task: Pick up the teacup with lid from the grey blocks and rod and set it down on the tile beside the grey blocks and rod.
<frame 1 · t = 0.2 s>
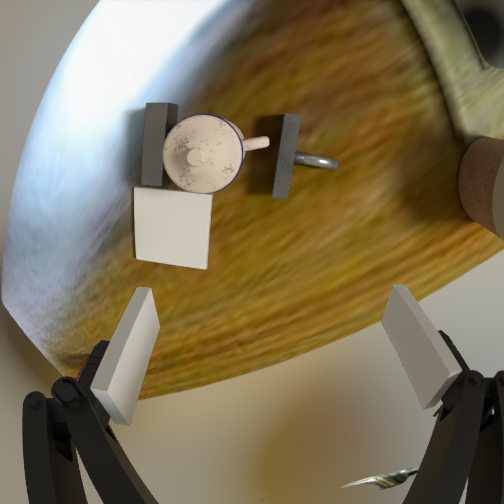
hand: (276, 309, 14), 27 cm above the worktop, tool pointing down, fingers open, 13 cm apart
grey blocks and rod: (224, 146, 36), on the worktop
tile: (171, 227, 42), on the worktop
planter: (484, 179, 35), on the worktop
teacup with lid: (225, 146, 37), on the worktop
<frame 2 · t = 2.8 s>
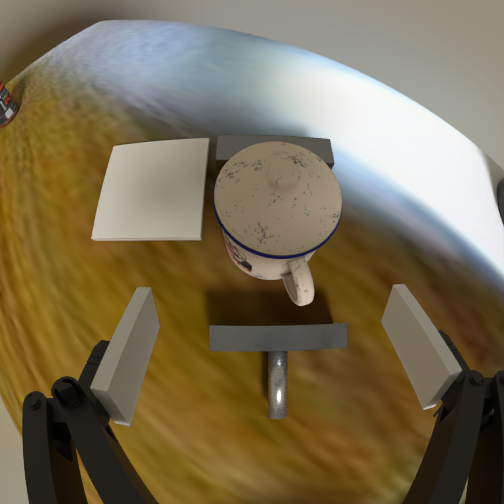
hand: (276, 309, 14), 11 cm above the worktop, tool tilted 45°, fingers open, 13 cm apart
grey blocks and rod: (274, 250, 27), on the worktop
tile: (151, 188, 29), on the worktop
teacup with lid: (274, 251, 27), on the worktop
supplement bottle: (9, 117, 34), on the worktop
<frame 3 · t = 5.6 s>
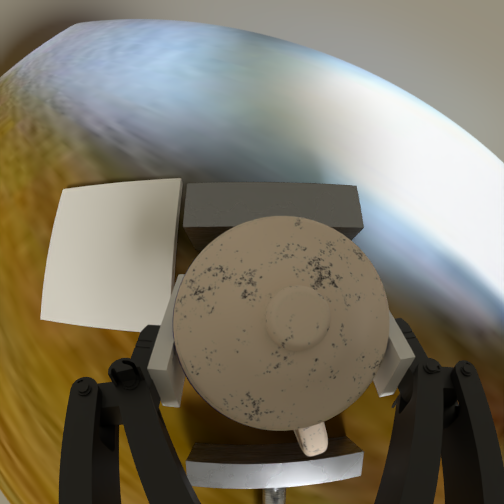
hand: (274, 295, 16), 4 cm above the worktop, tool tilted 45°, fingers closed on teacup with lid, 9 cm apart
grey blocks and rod: (272, 349, 19), on the worktop
tile: (106, 252, 20), on the worktop
teacup with lid: (274, 348, 19), on the worktop, touching gripper
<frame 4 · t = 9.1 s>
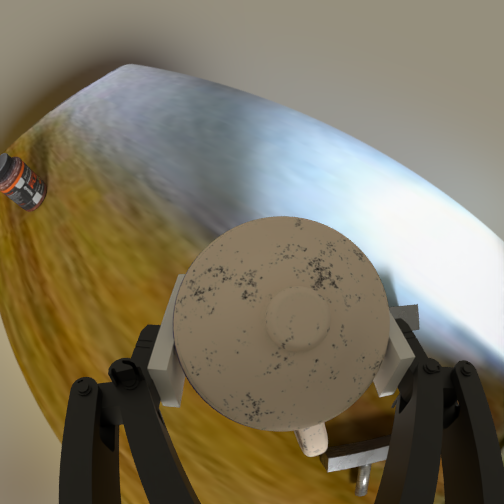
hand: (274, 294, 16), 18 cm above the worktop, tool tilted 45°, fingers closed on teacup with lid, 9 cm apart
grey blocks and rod: (364, 391, 30), on the worktop
teacup with lid: (275, 349, 19), point 13 cm above the worktop, touching gripper
supplement bottle: (36, 197, 37), on the worktop
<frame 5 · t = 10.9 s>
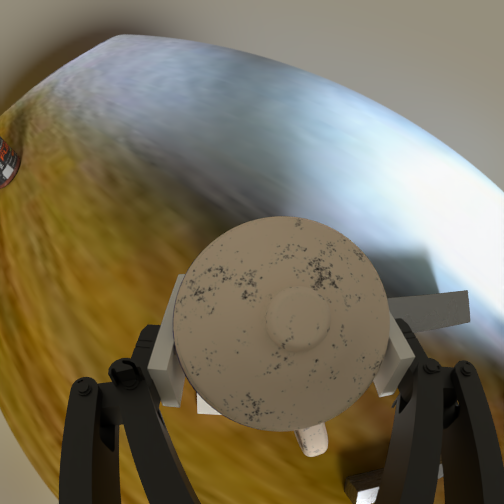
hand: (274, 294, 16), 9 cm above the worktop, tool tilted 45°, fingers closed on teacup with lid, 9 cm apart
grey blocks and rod: (401, 403, 21), on the worktop
teacup with lid: (275, 349, 19), point 4 cm above the worktop, touching gripper
supplement bottle: (9, 173, 29), on the worktop
when the fingers open (6 cm above the worktop, at t = 12.5 s): teacup with lid drops 1 cm, resting on tile.
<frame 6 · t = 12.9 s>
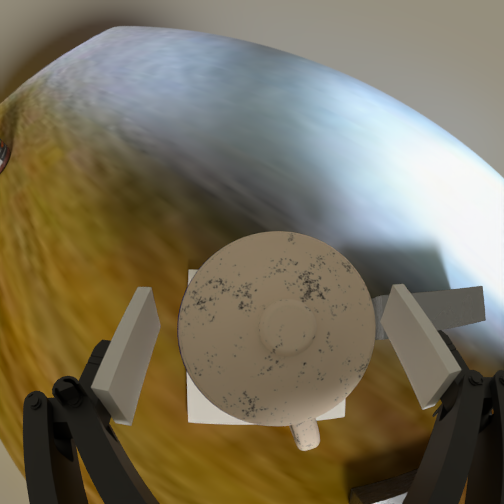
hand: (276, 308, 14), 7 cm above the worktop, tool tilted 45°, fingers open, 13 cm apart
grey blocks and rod: (412, 409, 19), on the worktop
tile: (267, 348, 21), on the worktop
teacup with lid: (273, 349, 20), point 1 cm above the worktop, touching tile
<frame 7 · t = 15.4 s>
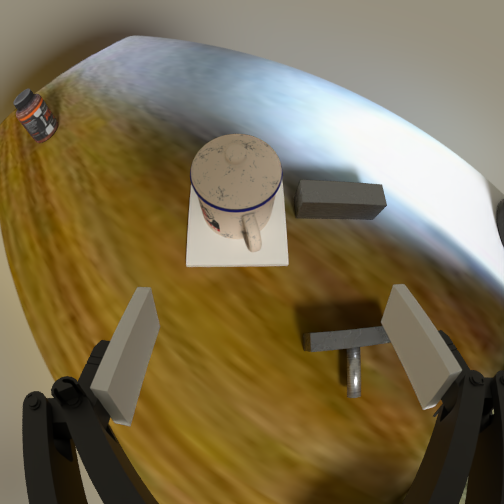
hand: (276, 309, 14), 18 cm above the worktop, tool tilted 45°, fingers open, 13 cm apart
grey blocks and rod: (342, 272, 34), on the worktop
tile: (236, 219, 35), on the worktop
teacup with lid: (240, 218, 35), point 1 cm above the worktop, touching tile
supplement bottle: (47, 132, 40), on the worktop
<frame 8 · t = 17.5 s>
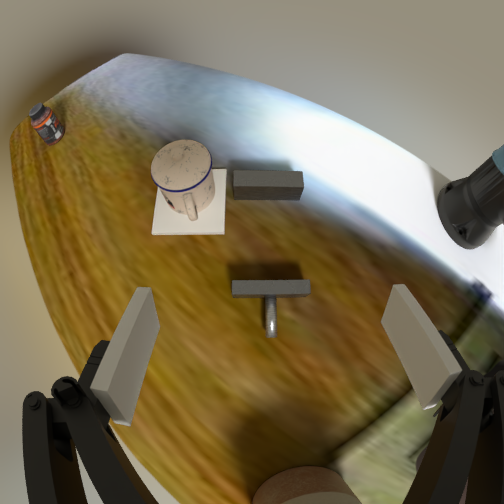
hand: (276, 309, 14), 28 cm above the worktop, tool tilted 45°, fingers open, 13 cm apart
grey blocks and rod: (268, 240, 45), on the worktop
tile: (190, 201, 47), on the worktop
planter: (299, 498, 32), on the worktop
teacup with lid: (192, 200, 46), point 1 cm above the worktop, touching tile
supplement bottle: (56, 137, 52), on the worktop
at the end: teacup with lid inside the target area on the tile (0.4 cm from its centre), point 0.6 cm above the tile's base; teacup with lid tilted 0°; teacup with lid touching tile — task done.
